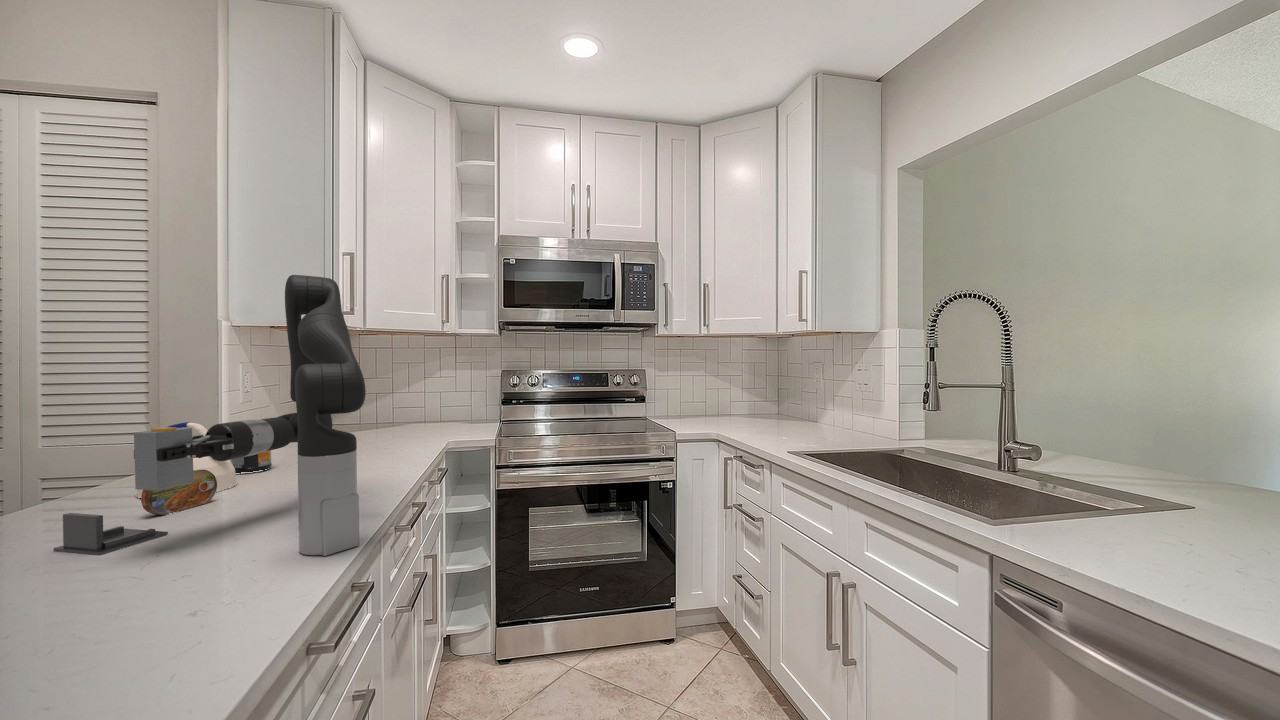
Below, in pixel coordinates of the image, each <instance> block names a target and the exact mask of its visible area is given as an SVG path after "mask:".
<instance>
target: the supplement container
mask: <svg viewBox="0 0 1280 720" xmlns="http://www.w3.org/2000/svg"><path fill="white" fill-rule="evenodd" d="M230 461H231V463H232V464H233V466H234V468H235V473H241V472H253V471H259V470H265V469H268V468H270V469H272V467H273V465H272V450H270V451H265V452H261V453H258V454H255V455H251V456H246V457H242V458H237V459H232V460H230ZM268 470H269V469H268Z"/></svg>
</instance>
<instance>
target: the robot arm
mask: <svg viewBox="0 0 1280 720" xmlns="http://www.w3.org/2000/svg"><path fill="white" fill-rule="evenodd" d="M338 285H339V284H337V282H336V281H335V280H334V279H332V278H331V277H330V278H329V277H326V276H325V277H324V276H323V277H322V276H316V275H315V276H313V275H305V274H304V275H303V274H302V275H301V274H290V275H289V276H288V277H287V279H286V282H285V285H284V286H285V287H284V309H285V311H284V312H285V320H286V321H285V323H286V333H287V340H288V341H287V342H288V348H289V358H290V384H289V385H290V386H289V387H290V389H289V392H290V394H289V395H290V399H291V400H292V401H293V402H294V403H295V405H296V412H293V413H292V412H291V413H287V414H282V415H279V416H277V417H268V418H267V417H266V418H262V419H246V420H245V419H244V420H238V421H230V422H222V423H217V424H214V425H212V426H210V427H209V429H207V430H208V431H207V433H206V435H205V436H203V435H200V434H194V435H193V434H192V441H193V443H187V444H185V445H184V446H182V445H181V446H175V447H169V448H163V449H160V450H159V452H158V454H159V461H169V460H174V459H180V458H184V456H185V458H187V459H189V458H192V457H193V458H202V457H207V456H210V457H211V458H212V459H214V460H216V461H227V460H232V459H237V458H242V457H246V456H251V455H255V454H258V453H261V452H265V451H270V450H271V451H274V450H278V449H281V448H285V447H286V446H288V445H289V444H291V443H292V444H293V443H297V501H298V502H297V504H298V505H297V506H298V507H297V509H298V512H297V514H298V517H297V518H298V550H299V551H298V552H299V553H300V554H302V555H306V556H322V557H324V556H327V557H328V556H330V555H333V554H336V553H339V552H342V551H345V550H348V549H351V548H356V547H357V546H360V499H359V498H360V497H359V494H358V471H357V470H358V467H357V465H358V464H357V463H358V462H357V460H358V457H357V454H358V452H357V448H358V446H357V437H356V435H355V434H353V433H351V432H346V431H343V430H339V429H336V428H335V429H334V428H333V418H332V415H339V414H348V413H349V414H351V413H354V412H357V411H359V410H360V409H361V408H362V407H363V406H364V403H365V401H366V393H367V392H366V390H367V389H366V382H365V378H364V375H363V372H362V370H361V369H362V368H361V367H360V365H359V363H358V360H357V358H356V356H355V354H354V351H353V347H352V343H351V336H350V332H349V329H348V325H347V324H346V320H345V318H344V314H343V309H342V300H341V292H340V291H341V290H340V287H339V286H338ZM302 315H304V316H303V317H302ZM133 460H135V455H134V454H133Z"/></svg>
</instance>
